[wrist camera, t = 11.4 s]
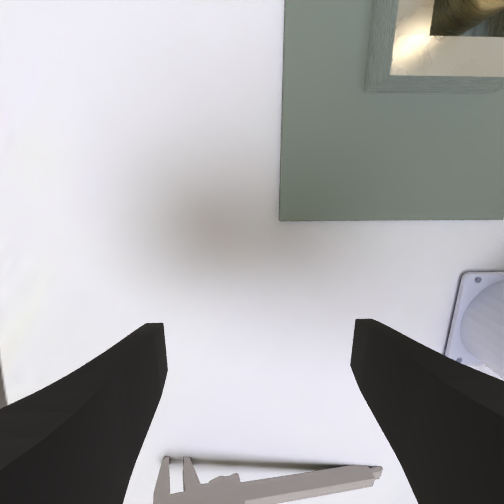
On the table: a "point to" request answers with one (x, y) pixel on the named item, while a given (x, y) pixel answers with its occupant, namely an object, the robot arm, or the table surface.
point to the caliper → (261, 486)
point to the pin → (461, 15)
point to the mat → (377, 132)
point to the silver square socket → (430, 53)
